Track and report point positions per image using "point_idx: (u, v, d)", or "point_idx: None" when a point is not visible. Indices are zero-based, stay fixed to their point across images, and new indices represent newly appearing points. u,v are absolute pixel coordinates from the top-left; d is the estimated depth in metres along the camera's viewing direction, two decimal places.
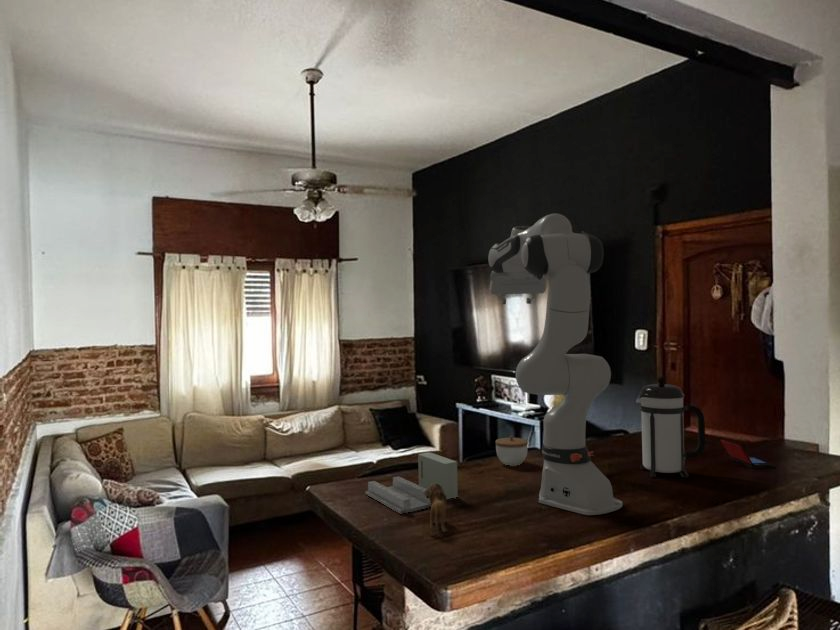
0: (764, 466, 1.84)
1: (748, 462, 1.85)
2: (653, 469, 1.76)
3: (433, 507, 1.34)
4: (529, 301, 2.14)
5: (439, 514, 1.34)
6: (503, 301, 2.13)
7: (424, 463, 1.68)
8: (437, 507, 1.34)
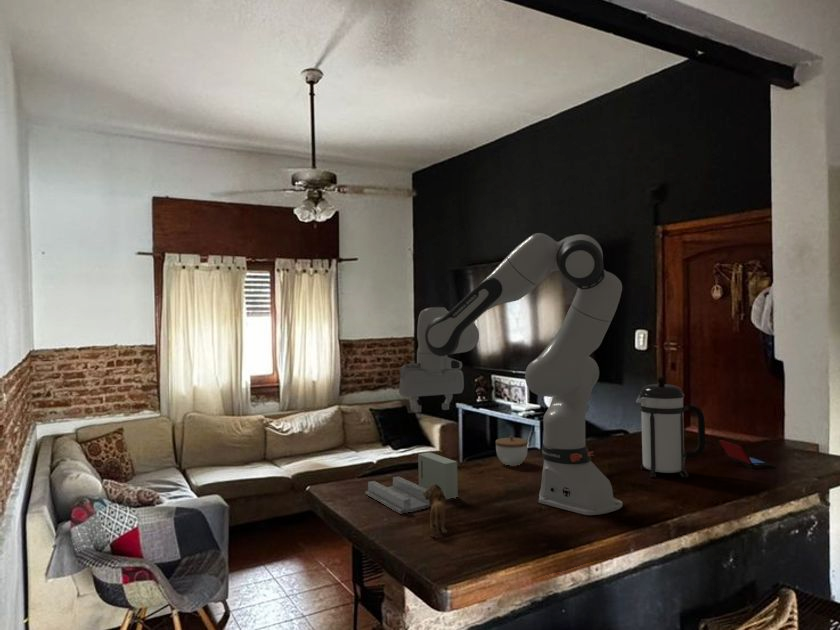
0: (764, 466, 1.84)
1: (748, 462, 1.85)
2: (653, 469, 1.76)
3: (433, 508, 1.34)
4: (447, 406, 1.70)
5: (439, 515, 1.33)
6: (418, 407, 1.65)
7: (424, 463, 1.68)
8: (437, 509, 1.33)
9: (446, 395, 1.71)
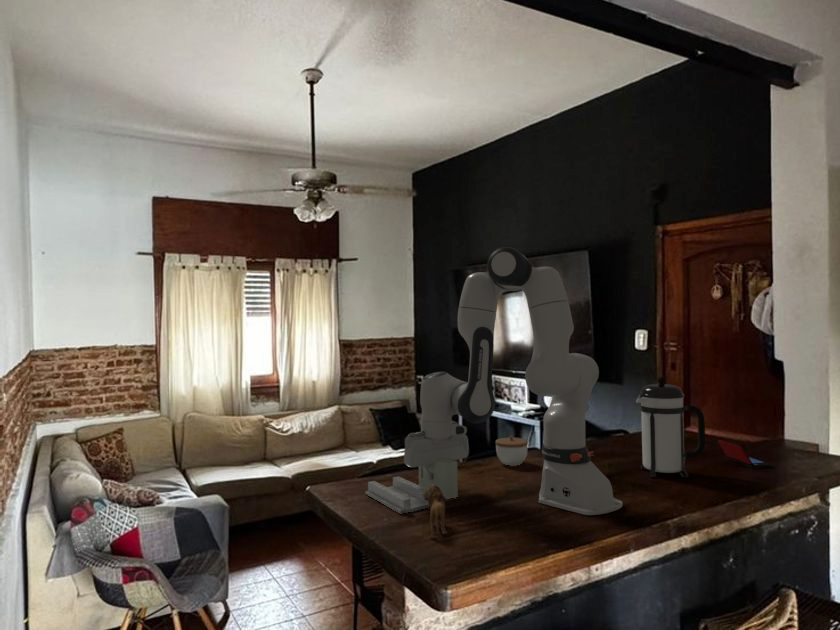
0: (763, 466, 1.84)
1: (748, 462, 1.85)
2: (653, 469, 1.76)
3: (433, 509, 1.33)
4: None
5: (439, 516, 1.33)
6: (430, 475, 1.63)
7: None
8: (437, 510, 1.32)
9: None
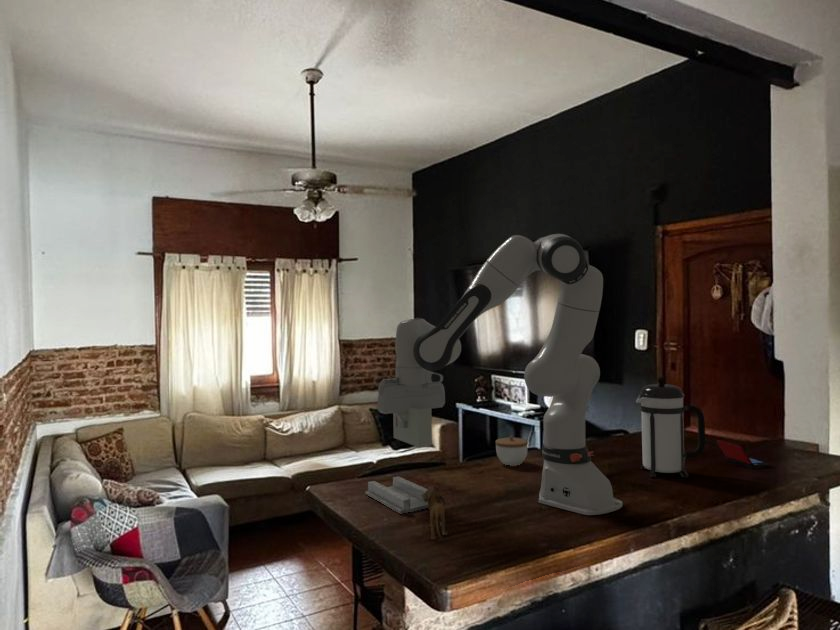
0: (763, 466, 1.84)
1: (747, 462, 1.85)
2: (653, 469, 1.76)
3: (433, 510, 1.32)
4: None
5: (440, 517, 1.32)
6: (404, 423, 1.59)
7: None
8: (438, 511, 1.32)
9: None
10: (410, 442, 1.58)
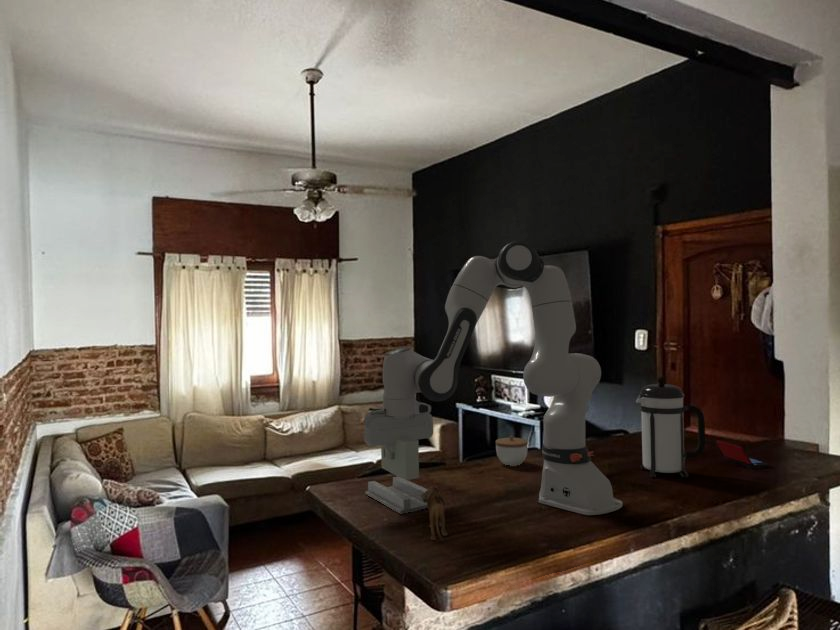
0: (763, 466, 1.84)
1: (747, 462, 1.84)
2: (653, 469, 1.76)
3: (433, 511, 1.32)
4: None
5: (440, 518, 1.31)
6: (391, 455, 1.58)
7: None
8: (438, 511, 1.31)
9: None
10: (397, 474, 1.57)
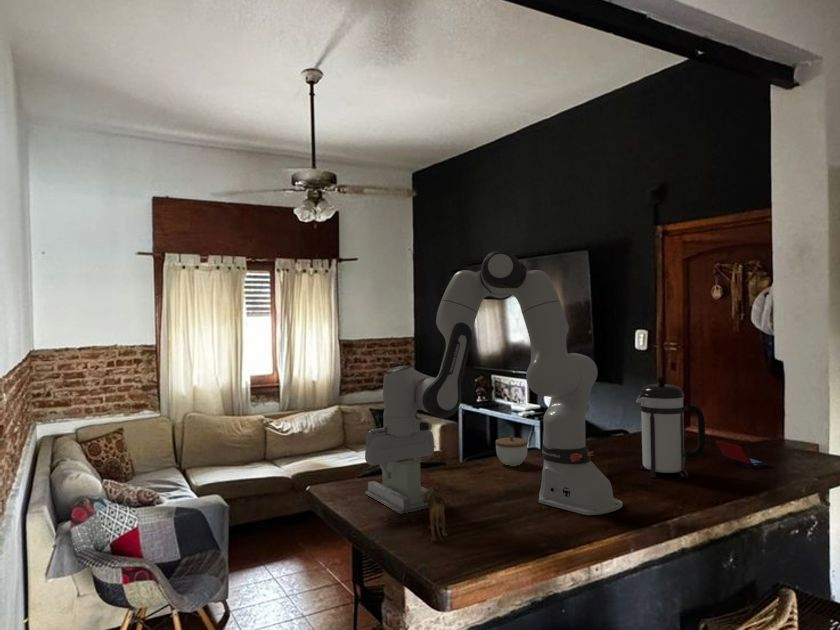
0: (762, 466, 1.84)
1: (747, 462, 1.84)
2: (653, 469, 1.76)
3: (434, 512, 1.31)
4: None
5: (440, 519, 1.31)
6: (388, 474, 1.56)
7: None
8: (438, 512, 1.31)
9: (414, 458, 1.62)
10: None
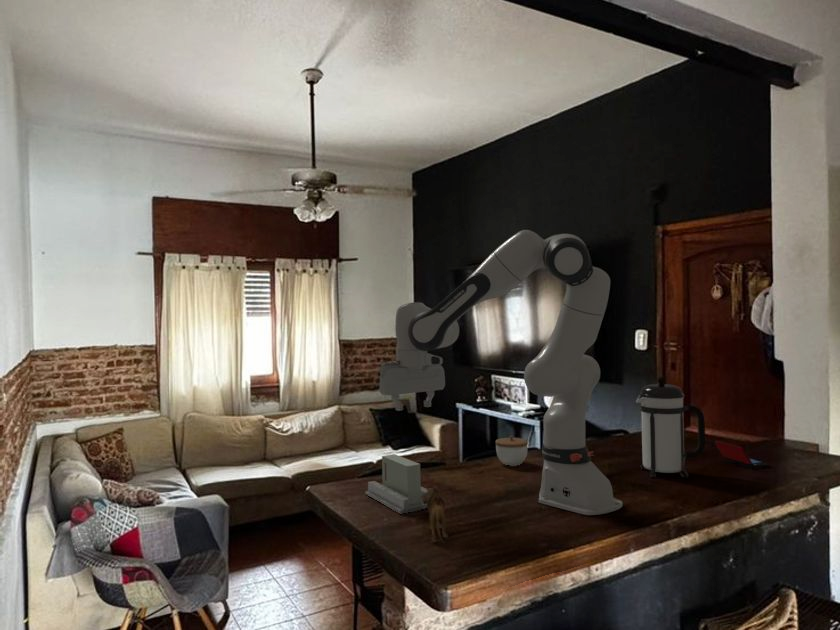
0: (762, 466, 1.84)
1: (747, 463, 1.84)
2: (653, 469, 1.76)
3: (434, 513, 1.30)
4: (429, 403, 1.67)
5: (440, 520, 1.30)
6: (400, 405, 1.62)
7: (387, 465, 1.61)
8: (438, 513, 1.30)
9: (428, 392, 1.68)
10: None
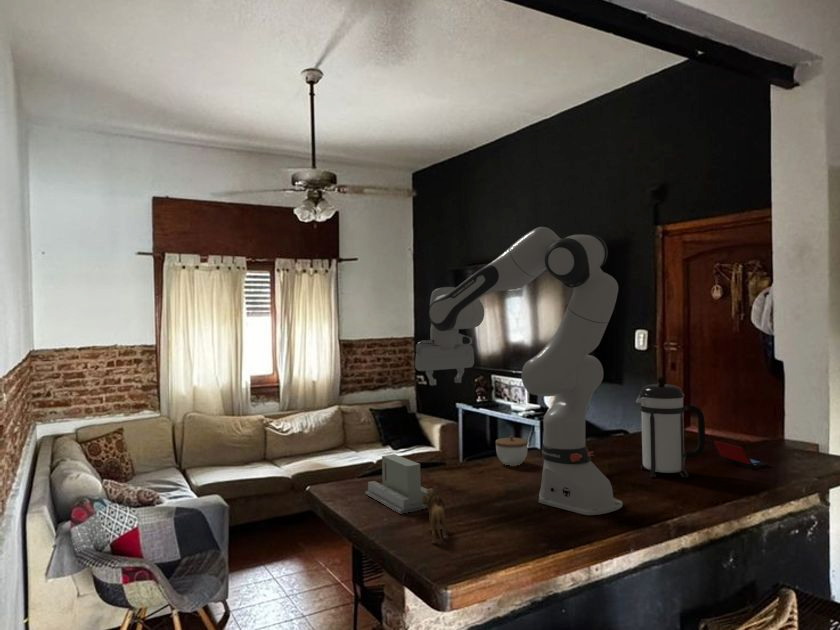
0: (762, 466, 1.84)
1: (747, 463, 1.84)
2: (653, 469, 1.76)
3: (435, 514, 1.30)
4: (459, 379, 1.83)
5: (441, 521, 1.30)
6: (433, 380, 1.77)
7: (387, 465, 1.61)
8: (439, 514, 1.30)
9: (458, 369, 1.84)
10: None
